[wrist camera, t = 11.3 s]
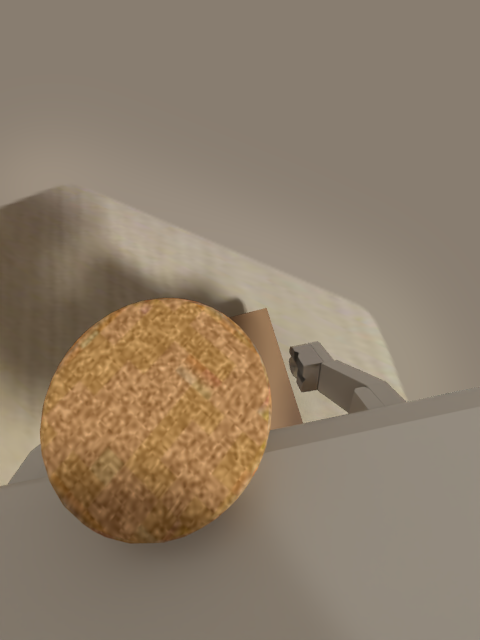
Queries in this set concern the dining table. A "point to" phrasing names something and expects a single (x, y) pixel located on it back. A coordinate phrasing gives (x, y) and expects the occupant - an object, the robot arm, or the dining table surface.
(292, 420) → the small wooden stand
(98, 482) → the bottle
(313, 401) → the dining table surface
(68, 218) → the dining table surface
